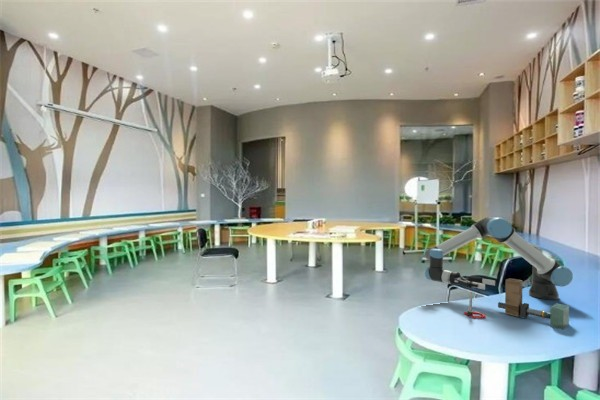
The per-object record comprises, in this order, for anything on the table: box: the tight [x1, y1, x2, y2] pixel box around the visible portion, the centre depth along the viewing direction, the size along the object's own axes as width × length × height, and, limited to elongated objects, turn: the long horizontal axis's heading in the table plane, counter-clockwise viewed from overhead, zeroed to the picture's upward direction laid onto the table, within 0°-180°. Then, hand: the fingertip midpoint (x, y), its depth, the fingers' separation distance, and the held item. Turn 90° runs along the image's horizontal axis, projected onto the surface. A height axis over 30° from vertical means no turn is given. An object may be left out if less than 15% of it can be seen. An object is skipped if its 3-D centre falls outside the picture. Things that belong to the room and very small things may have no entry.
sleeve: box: [504, 278, 524, 317], centre depth 179 cm, size 6×6×18 cm
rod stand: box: [497, 301, 570, 330], centre depth 173 cm, size 10×29×9 cm, turn 41°
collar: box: [519, 302, 530, 319], centre depth 175 cm, size 6×2×6 cm, turn 131°
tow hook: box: [463, 290, 487, 320], centre depth 177 cm, size 8×13×9 cm
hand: (490, 285), depth 187 cm, fingers open, 13 cm apart
